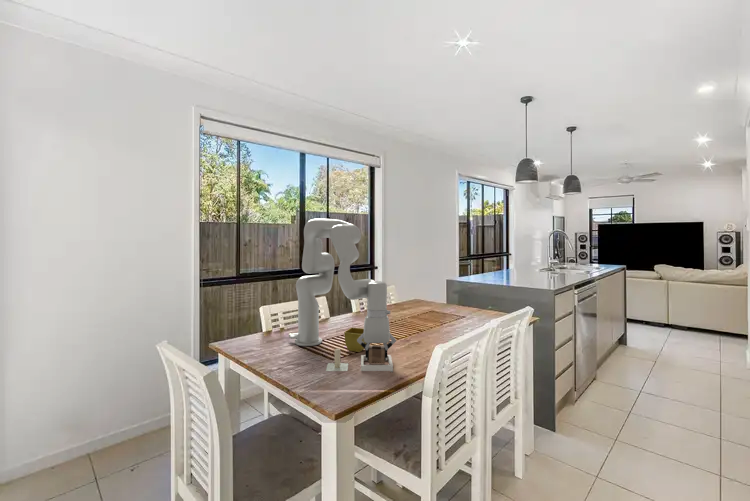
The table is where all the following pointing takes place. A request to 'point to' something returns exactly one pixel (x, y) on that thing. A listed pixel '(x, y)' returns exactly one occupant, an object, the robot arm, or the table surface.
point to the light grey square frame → (376, 367)
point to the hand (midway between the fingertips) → (376, 358)
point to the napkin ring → (376, 354)
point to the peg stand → (337, 363)
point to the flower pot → (353, 339)
